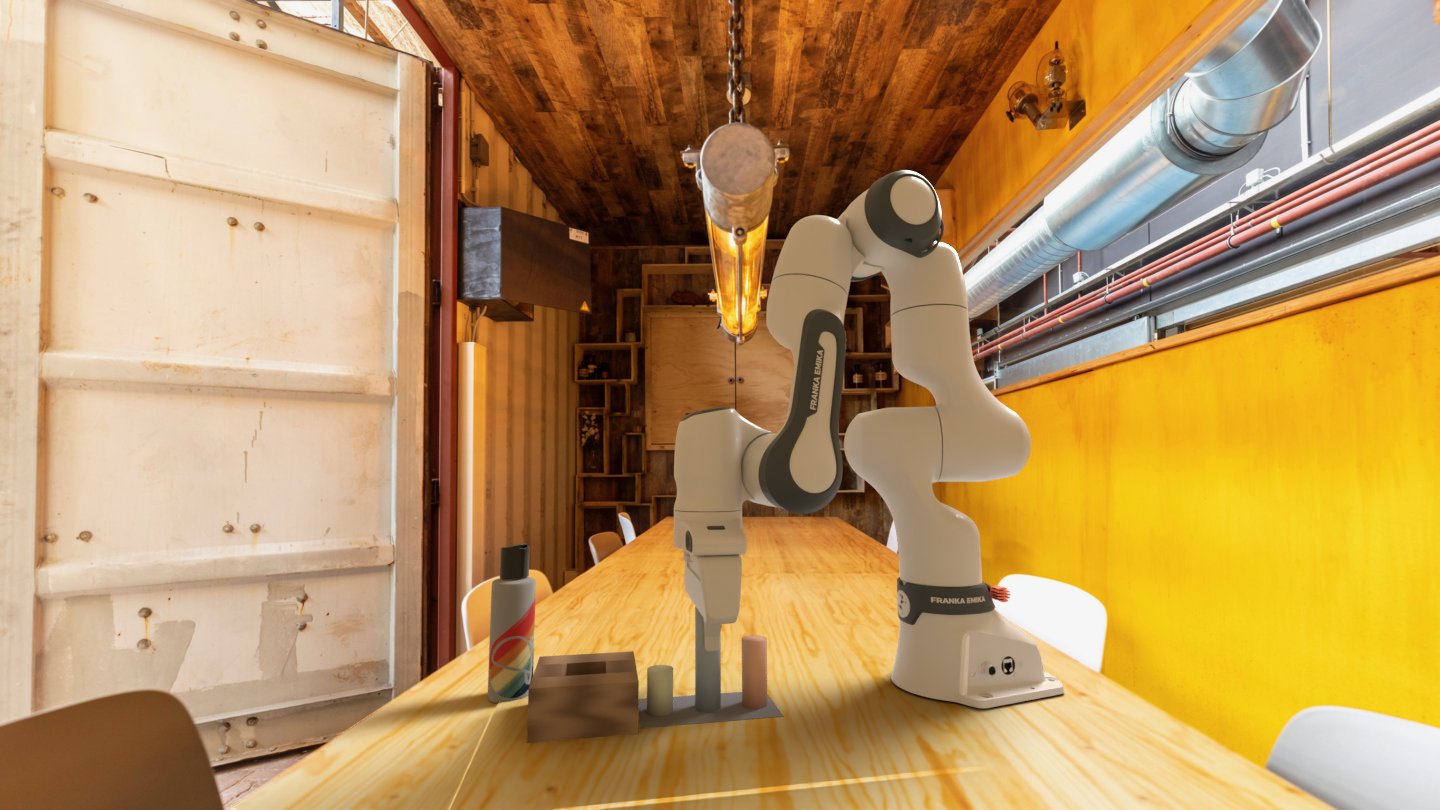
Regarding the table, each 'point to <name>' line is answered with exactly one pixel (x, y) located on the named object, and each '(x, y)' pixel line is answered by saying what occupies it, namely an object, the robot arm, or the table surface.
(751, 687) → the pin medium
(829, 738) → the table surface
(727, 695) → the mat
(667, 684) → the pin short
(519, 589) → the lotion bottle
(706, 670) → the pin long
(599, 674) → the socket block
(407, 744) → the table surface
